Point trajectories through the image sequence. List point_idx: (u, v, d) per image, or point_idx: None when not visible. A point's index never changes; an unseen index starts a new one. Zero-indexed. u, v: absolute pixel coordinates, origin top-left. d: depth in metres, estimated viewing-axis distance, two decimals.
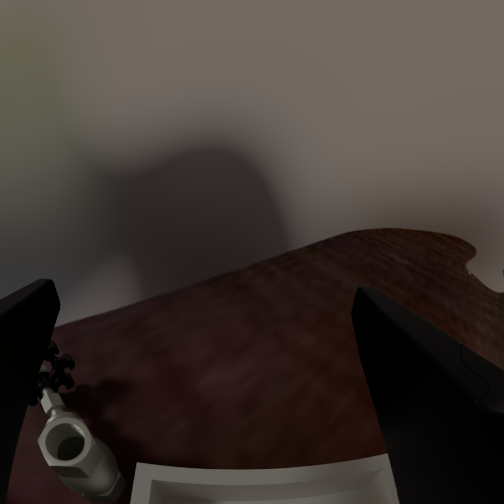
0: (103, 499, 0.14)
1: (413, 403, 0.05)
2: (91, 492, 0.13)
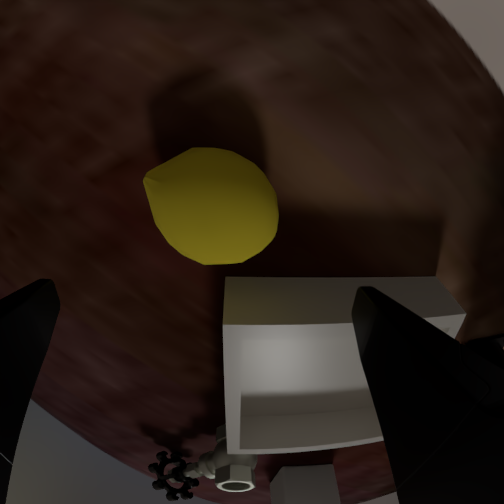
0: None
1: (413, 403, 0.05)
2: (255, 454, 0.25)
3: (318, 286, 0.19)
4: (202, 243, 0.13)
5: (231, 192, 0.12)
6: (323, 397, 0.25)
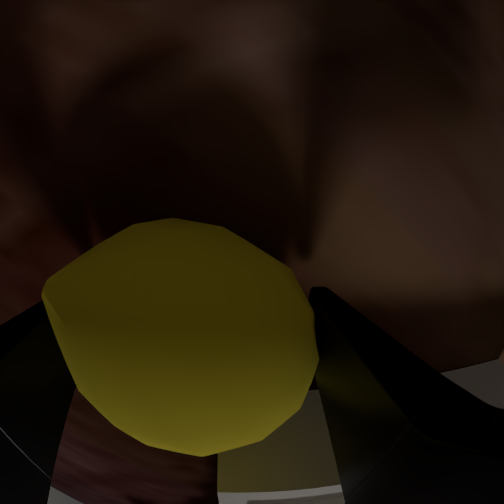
0: None
1: (354, 413, 0.05)
2: None
3: None
4: (166, 445, 0.05)
5: (220, 371, 0.05)
6: None
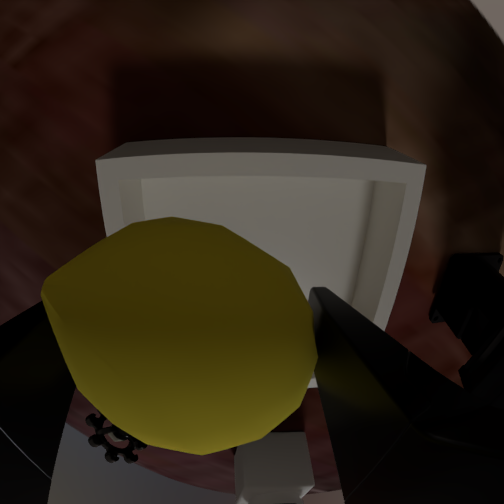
0: None
1: (354, 413, 0.05)
2: None
3: (225, 140, 0.16)
4: (165, 443, 0.05)
5: (220, 369, 0.05)
6: None
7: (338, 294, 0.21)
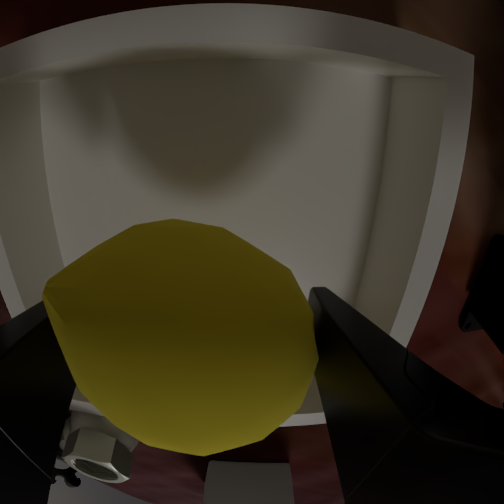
0: None
1: (354, 413, 0.05)
2: None
3: None
4: (167, 445, 0.05)
5: (222, 371, 0.05)
6: None
7: (334, 286, 0.13)
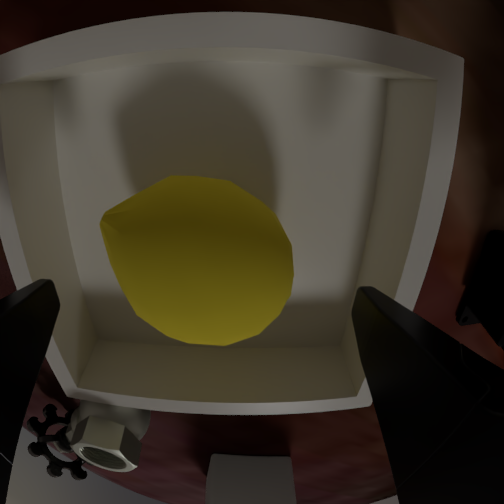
0: None
1: (413, 403, 0.05)
2: None
3: None
4: (183, 327, 0.09)
5: (227, 257, 0.08)
6: None
7: (334, 278, 0.14)
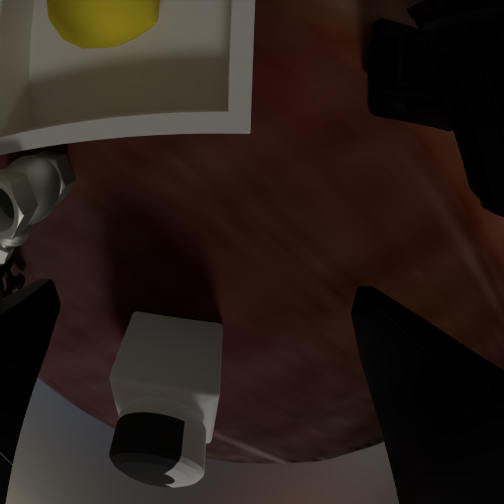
0: (64, 165, 0.17)
1: (413, 403, 0.05)
2: (48, 172, 0.15)
3: None
4: (71, 4, 0.09)
5: None
6: (126, 71, 0.15)
7: (211, 36, 0.14)
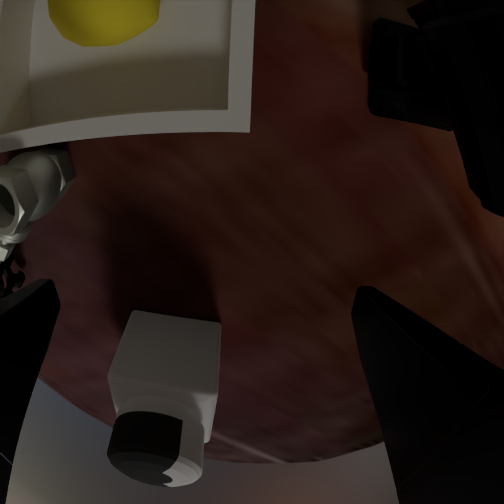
0: (65, 162, 0.17)
1: (413, 403, 0.05)
2: (49, 168, 0.15)
3: None
4: (72, 2, 0.09)
5: None
6: (126, 70, 0.15)
7: (211, 34, 0.14)
